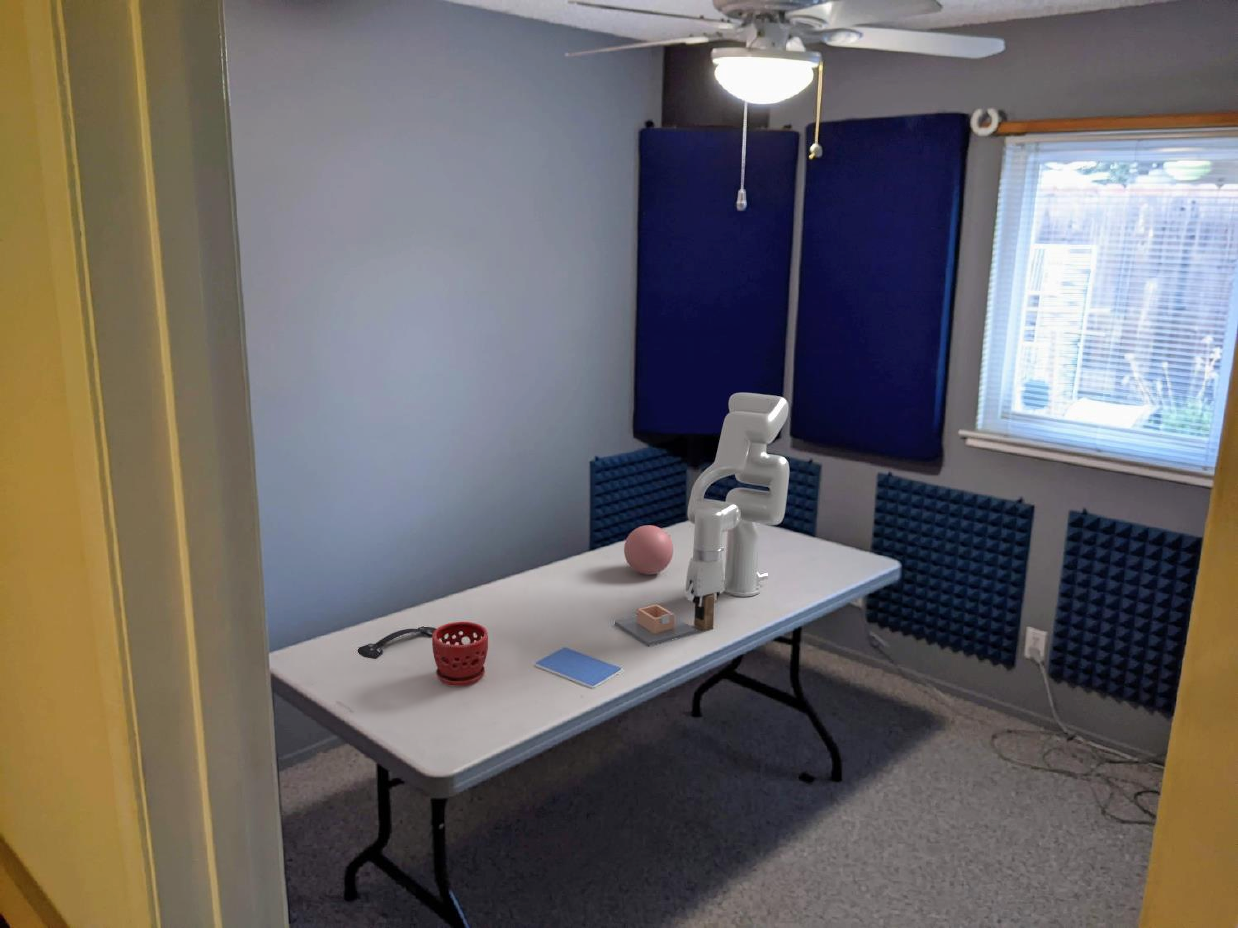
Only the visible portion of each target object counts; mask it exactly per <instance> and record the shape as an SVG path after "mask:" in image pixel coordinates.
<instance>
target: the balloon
mask: <svg viewBox="0 0 1238 928" xmlns="http://www.w3.org/2000/svg"><path fill="white" fill-rule="evenodd" d="M623 551H624V552H623V553H624V559H625V560H626V563H627V564H628V566H630V568H631V569H632V570H634V571H635V572H637V573H639V574H642V575H647V576H648V575H656V574H658V573H660V572H663V571H664V570H665V569H666V568H667V567H668V566H669V565H670V563H671V561H672V558H673V556H674V555H673V554H674V545H673V541H672V539H671V534H670V533H667V532H666V531H665V529H663V528H662V527H658V526H656V525H650V524H649V525H642V526H638V527H637V528H635V529H634V530H632V531H631V532H630V533H629V534H628V536H627V537H626V540H625V542H624V546H623Z"/></svg>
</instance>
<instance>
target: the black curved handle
mask: <svg viewBox="0 0 1238 928" xmlns="http://www.w3.org/2000/svg"><path fill="white" fill-rule="evenodd" d="M424 626H425V625H423V626H420V627H417V628H404V629H400V630H397V631H394V632H392V633H390V634H388V635H386V636H385V637H383V638H381V639H379V640H378V641H377V642H376V643H368V644H364V645H362V646H359V647H358V648H359V649H358V650H357V654H358V653H359V654H358V655H359V656H361V657H363V658H366V659H370V660H371V659H372V660H377V659H378V658H379V657H380V656H381V655H383V652H384V650H383V648H382V647H384V646H388V645H390V644H392V643H396V642H399V641H402V640H405V639H408V638H411V637H414V636H418V635H420V634H423V635H425V636H426V637H427V638H428V637H429V638H432V635H433V632H434V631H435V630H436V629H437V628H436V627H432V626H431V627H430V626H427V627H424ZM414 633H416V634H414ZM403 637H405V638H403ZM400 638H401V639H400ZM397 639H400V640H397ZM394 640H396V641H394ZM391 641H392V642H391ZM389 642H390V643H389Z"/></svg>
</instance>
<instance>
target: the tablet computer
mask: <svg viewBox="0 0 1238 928" xmlns="http://www.w3.org/2000/svg"><path fill="white" fill-rule="evenodd" d="M533 666H534V667H535V668H539V669H541V670H545V671H546V672H549V673H552V674H554V675H557V676H559V677H562V678H564V679H566V680H570V681H572V682H574V683H576V684H579V685H582V686H584V687H586V686H587V687H586V688H588V687H589V689H591V688H592V689H594V688H595V689H597V688H598V686H599V687H600V686H602V685H603V683H604V682H605V681H607V682H609V681H610V680H612V679H613V678H614V677H613V676H615V677H617V676H618V675H620V674H621V673H620V672H622V671H623V672H624V669H623V668H622V667H620V666H617V665H615V664H613V663H610V662H606V661H603V660H600V659H598V658H596V657H592V656H590V655H587V654H585V653H582V652H580V651H577V650H574V649H571V648H569V647H566V646H565V647H562V648H559V649H558V650H556V651H554V652H552V653H551V654H548V655H547V656H545V657H542V658H541V659H540V660H537V661H536V662H534V663H533ZM623 672H622V673H623ZM619 673H620V674H619ZM617 674H618V675H617ZM616 675H617V676H616ZM612 677H613V678H612ZM611 678H612V679H611ZM609 679H610V680H609ZM605 683H606V682H605ZM605 683H604V684H605ZM601 684H602V685H601ZM596 687H597V688H596ZM592 689H591V690H592Z"/></svg>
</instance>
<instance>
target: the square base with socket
mask: <svg viewBox="0 0 1238 928" xmlns="http://www.w3.org/2000/svg"><path fill="white" fill-rule="evenodd" d="M636 612H637V613H636V615H633V616H629V617H625V618H622V619H619V620H615V621H614V626H616V627H618V628H619V629H621V630H622V631H624V632H625V633H627V634H628V635H630V636H632V637H633V638H635V639H636V638H637V639H636V640H638V641H639V640H640V641H639V642H641V643H642V642H643V643H642V644H644V643H645V644H644V645H646V646H647V645H648V646H647V647H651V646H650V645H652V646H654V645H653V644H655V645H658V644H657V643H659V644H662V643H666V642H669V641H668V640H670V641H672V639H674V640H676V639H675V638H677V639H680V638H684V637H687V635H688V636H691V634H692V635H694V634H698V633H697V632H698V630H697V629H696V628H695V627H693V626H691V625H690V624H687V623H686V622H684V621H683V620H681V619H680V618H677V617H676V615H675V613H673V612H671V611H669V610H668V609H666V608H665V607H662V606H661V605H659V604H657V603H656V604H653V605H648V606H644V607H641V608H637V609H636ZM665 641H666V642H665Z"/></svg>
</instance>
